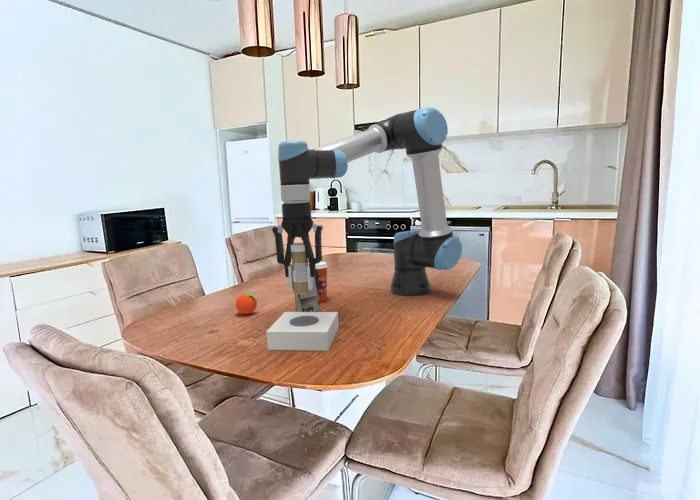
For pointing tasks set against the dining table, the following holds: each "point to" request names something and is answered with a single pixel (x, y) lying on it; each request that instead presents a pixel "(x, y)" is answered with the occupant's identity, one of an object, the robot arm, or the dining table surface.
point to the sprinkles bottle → (299, 268)
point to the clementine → (246, 303)
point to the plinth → (303, 331)
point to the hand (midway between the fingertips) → (301, 288)
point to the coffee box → (309, 298)
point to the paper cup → (322, 281)
